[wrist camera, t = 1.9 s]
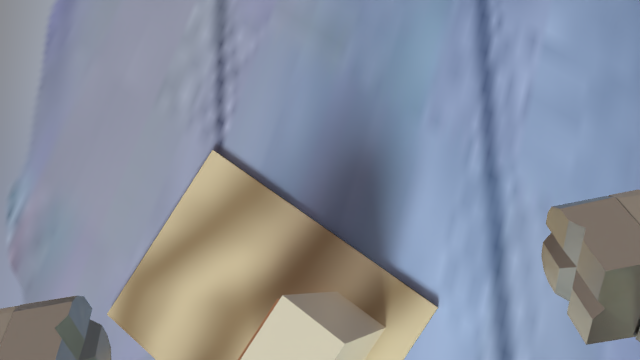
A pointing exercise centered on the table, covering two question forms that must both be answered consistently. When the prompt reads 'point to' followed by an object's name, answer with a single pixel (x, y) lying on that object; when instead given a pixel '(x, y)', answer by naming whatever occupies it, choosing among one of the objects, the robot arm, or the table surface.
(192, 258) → the board
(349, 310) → the tile
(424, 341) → the table surface
